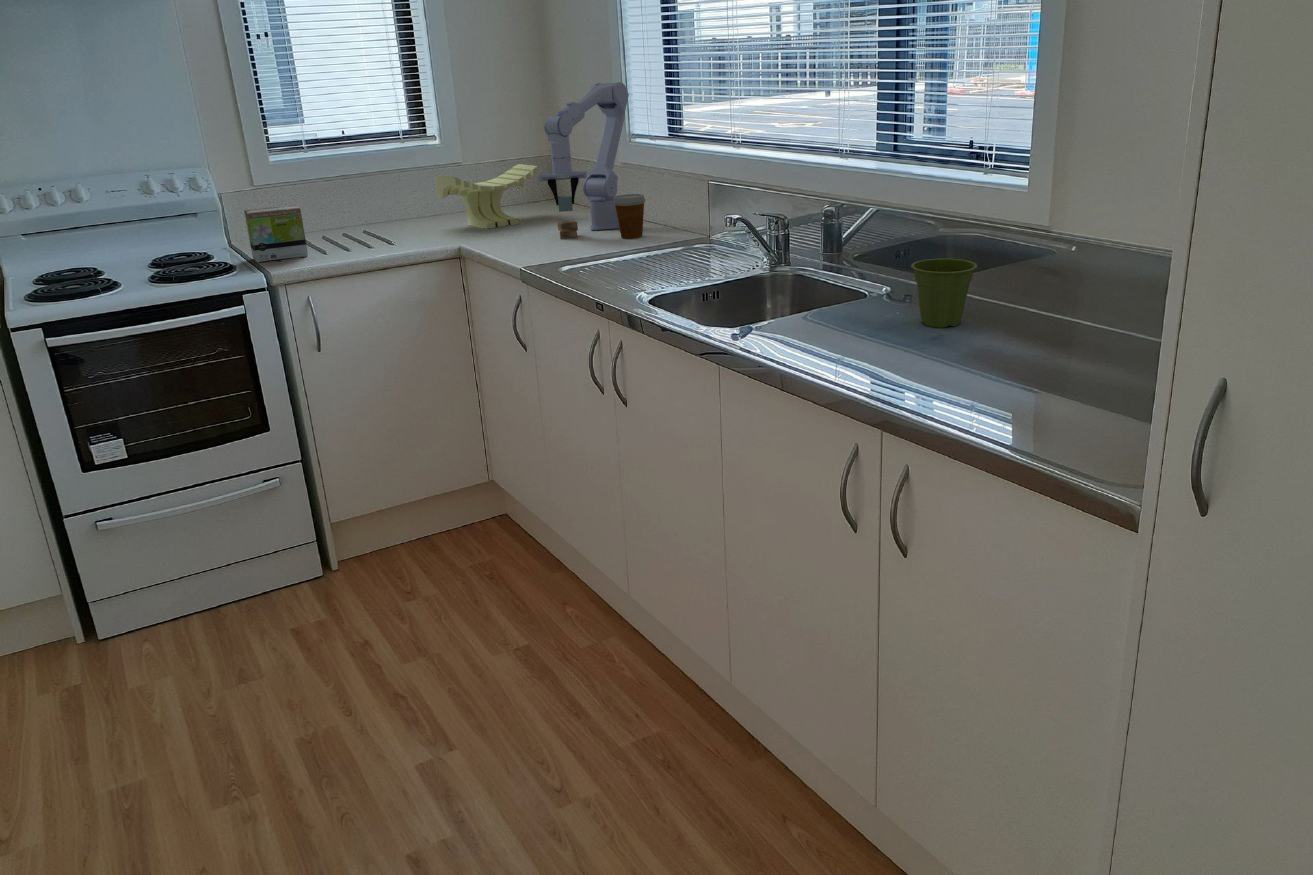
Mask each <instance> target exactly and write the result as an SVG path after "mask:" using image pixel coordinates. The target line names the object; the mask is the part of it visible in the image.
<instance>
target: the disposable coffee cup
mask: <svg viewBox="0 0 1313 875" xmlns="http://www.w3.org/2000/svg"><path fill="white" fill-rule="evenodd" d="M613 203H614V205H615V207H616V212H617V218H618V223H619V228H618V229H619V232H620V236H621V237H620V238H621V239H624V240H634V239H639V238H642V237H643V233H644V232H643V228H644V211H645V203H646V199H645V195H644V194H642V193H627V194H620V195H615V197H614V201H613Z"/></svg>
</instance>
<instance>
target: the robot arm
mask: <svg viewBox="0 0 1313 875" xmlns="http://www.w3.org/2000/svg"><path fill="white" fill-rule="evenodd" d="M629 97H630V96H629V92H628V89H627V87H626V85H625V84H624V83H623V82H621V81H617V82H603V83H601V82H597V83H595V84H594V85H593V86H591V87H590V90H589V91H588V92H587V93H586V94H585V95H584V96H583V97H581V99H580V100H578V102H576V101H569V102H568V103H566V106H565V107H564V108H563V109H561V110H558V111H557V113H556V114H555V115H549V116H548V118H547V119H546V120H545V123H544V126H543V129H544V132H545V133H546V135H547V140H548V142H549V146H550V148H549V149H550V155H551V156H550V157H551V166H552V167H551V168H552V172H551V173H540V174H539V173H538V175H537V177H538V178H537V179H538V182H539V183H540V182H547V185H548V187H549V189H550V191H551V193H552V194H553V197H554V199H555V200H554V201H555V204H556V206H559V204H558V196H559V195H558V185H557V181H562V180H563V181H564V180H570V181H569V182H570V189H571V196H572V205H575V198H576V197H575V196H576V192H577V188H578V185H579V181H580V179H585V180H584V182H583V185H582V191H583V193H584V195H585V197H586V198H587V201H589V208H590V218H591V219H590V220H591V224H590V230H591V231H602V230H603V231H604V230H616V229H617V230H618V229H620V228H619V223H618V218H617V212H616V207H615V205H614V203H613V201H614V198H615V196H617V192H618V179H619V176H618V175H617V173H615V171H614V165H615V161H616V159H617V158H616V157H617V154H618V153H617V152H618V148H619V144H620V141H621V139H620V138H621V136H622V132H623V131H622V130H623V127H624V126H623V125H624V123H625V122H624V121H625V119H626V118H625V117H626V109H627V104H628V100H629ZM595 106H597V107H598V108H599V110H600V111H601V112H602V114H603V115H605V117H606V120H605V124H604V128H603V132H602V136H601V139H600V140H601V141H600V147H599V150H598V154H597V158H596V163H595V166H594V167H593V168H591V170H589V171H587V170H582V171H581V170H580V171H573V169H572V156H571V145H570V136H569V135H571V134H572V132H573V129H574V127H575V126H576V125H577V124H579V123H580V122H582V120H583V119H584V118H585V113H586V112H588V111H589V110H590V109H592V108H594V107H595Z"/></svg>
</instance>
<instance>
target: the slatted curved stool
mask: <svg viewBox="0 0 1313 875" xmlns="http://www.w3.org/2000/svg"><path fill="white" fill-rule="evenodd" d="M538 167H539V166H537V165H532V164H531V165H530V164H522V163H519V164H516V165H514V166H512V167H511V168H510V169H508V170H506V171H505V172H504V173H502V174H500V175H498V176H497V177H493V179H492V178H491V179H489V180H485V181H481V182H473V183H471V182H468V181H466V180H461V179H460V178H458V177H456V176H454V175H453V176H451V175H445V174H444V175H443V174H437V175H436V177H435V189H436V195H437V198H442V199H444V198H447V197H449V196H455V195H456V196H458V197H460V198H461V201H462V203H463V205H464V208H465V211H466V219H467V225H468V226H469V225H471V226H470V227H474V226H475V227H474V228H478V227H479V228H478V229H483V228H485V229H484V230H488V229H487V228H490V229H494V228H501V227H500V226H502V227H506V226H505V225H508V226H509V225H510V226H513V224H514V225H518V224H517V223H520V224H521V222H520V220H519V218H517V217H514V216H510V215H508V214H507V213H505V212H504V211H503V210H502V209H501V201H502V197H503V195H504V194H503V192H505V191H507V190H509V189H510V188H514V187H515V188H516V187H524V183H525V180H529V179H532V176H538V174H539V170H538Z"/></svg>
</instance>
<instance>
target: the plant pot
mask: <svg viewBox="0 0 1313 875" xmlns="http://www.w3.org/2000/svg"><path fill="white" fill-rule="evenodd" d="M910 267H911V269H913V270H914V279H915V281H916V287H917V295H918V303H919V312H920V319H921V320H920V321H921V324H924V325H925V326H927V327H930V328H939V329H943V328H948V327H949V326H950V327H951V326H952V327H957V326H959V325H961V322H962V319H963V314H964V309H965V304H966V300H967V297H968V293H969V292H968V291H969V288H970V283H971V282H972V280H973V275H974V270H976V269H977V268H978V264H977V263H976V262H973V261H970V260H966V259H958V258H930V259H928V258H927V259H922V260H917V261H914V262H912V263H911V265H910Z"/></svg>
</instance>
